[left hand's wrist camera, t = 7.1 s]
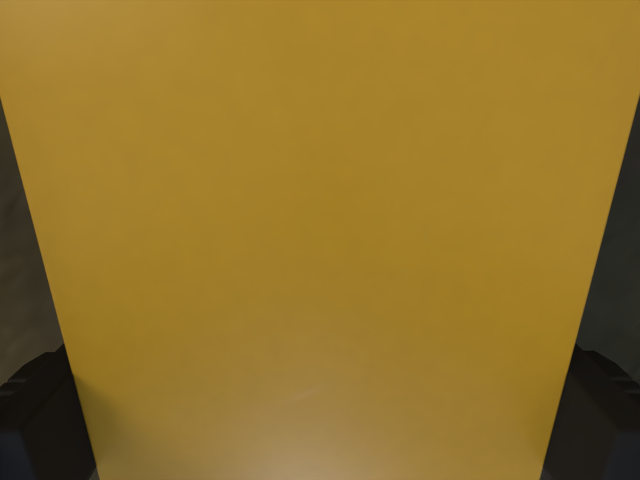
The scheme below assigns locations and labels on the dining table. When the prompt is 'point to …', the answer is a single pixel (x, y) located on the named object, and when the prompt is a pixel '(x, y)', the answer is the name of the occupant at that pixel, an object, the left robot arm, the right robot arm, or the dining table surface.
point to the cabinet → (319, 223)
